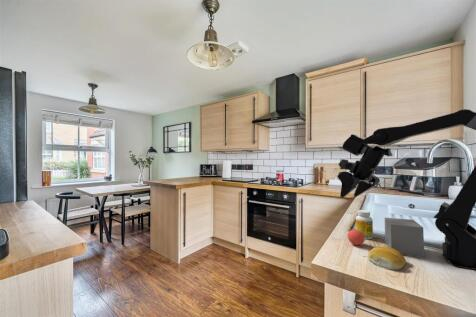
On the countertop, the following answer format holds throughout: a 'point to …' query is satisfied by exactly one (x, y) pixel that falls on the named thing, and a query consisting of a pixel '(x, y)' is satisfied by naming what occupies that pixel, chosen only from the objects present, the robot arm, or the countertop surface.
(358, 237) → the ball
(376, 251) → the bread roll
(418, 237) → the gray block
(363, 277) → the countertop surface
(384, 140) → the robot arm
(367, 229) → the supplement bottle
